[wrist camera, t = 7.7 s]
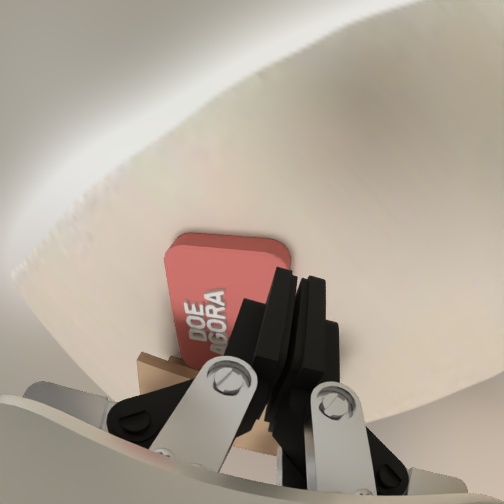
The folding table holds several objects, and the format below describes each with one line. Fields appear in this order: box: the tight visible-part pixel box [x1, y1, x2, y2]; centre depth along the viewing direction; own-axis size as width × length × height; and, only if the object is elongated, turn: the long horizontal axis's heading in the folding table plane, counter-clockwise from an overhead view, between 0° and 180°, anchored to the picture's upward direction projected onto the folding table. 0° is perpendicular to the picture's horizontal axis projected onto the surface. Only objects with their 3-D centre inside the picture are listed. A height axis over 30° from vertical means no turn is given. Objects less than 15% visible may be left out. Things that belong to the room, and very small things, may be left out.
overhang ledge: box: [137, 352, 278, 456], centre depth 35 cm, size 20×12×10 cm, turn 78°
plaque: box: [164, 233, 291, 370], centre depth 34 cm, size 18×4×15 cm
